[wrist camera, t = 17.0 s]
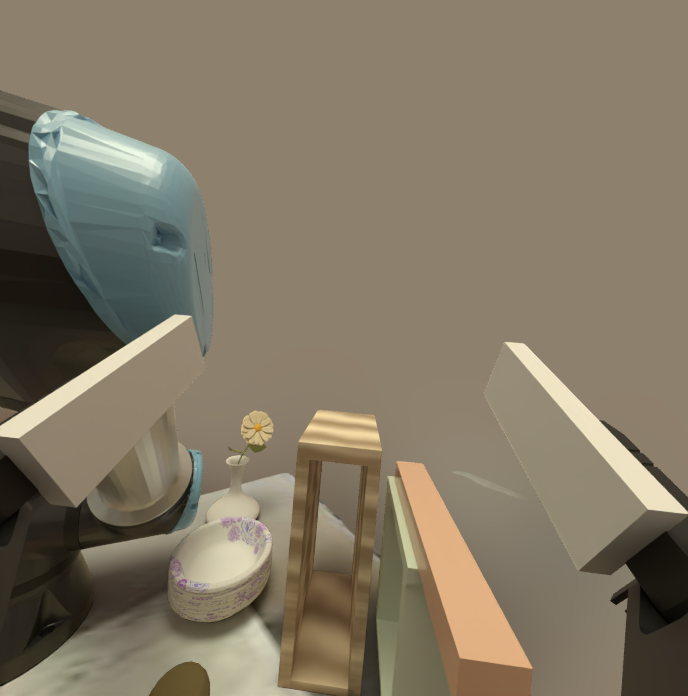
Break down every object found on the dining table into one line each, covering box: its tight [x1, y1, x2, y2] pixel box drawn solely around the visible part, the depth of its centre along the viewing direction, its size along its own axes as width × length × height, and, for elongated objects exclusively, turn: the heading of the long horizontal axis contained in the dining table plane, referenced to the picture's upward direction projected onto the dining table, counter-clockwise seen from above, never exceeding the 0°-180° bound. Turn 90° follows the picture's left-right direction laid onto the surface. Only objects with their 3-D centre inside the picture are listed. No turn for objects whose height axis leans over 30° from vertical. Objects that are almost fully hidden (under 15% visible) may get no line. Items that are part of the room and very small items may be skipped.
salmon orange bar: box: [395, 461, 533, 696], centre depth 28 cm, size 26×4×3 cm, turn 177°
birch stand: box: [278, 410, 382, 696], centre depth 40 cm, size 16×10×30 cm, turn 177°
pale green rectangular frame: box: [375, 476, 451, 696], centre depth 34 cm, size 18×6×22 cm, turn 177°
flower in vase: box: [206, 411, 273, 523], centre depth 62 cm, size 13×11×25 cm
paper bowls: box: [168, 517, 273, 622], centre depth 44 cm, size 15×15×8 cm
